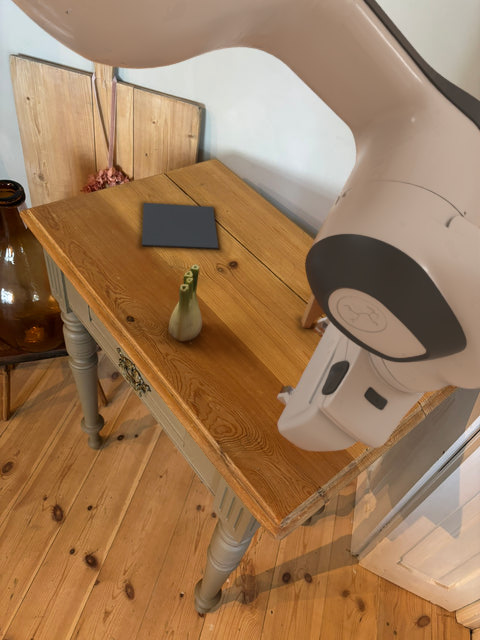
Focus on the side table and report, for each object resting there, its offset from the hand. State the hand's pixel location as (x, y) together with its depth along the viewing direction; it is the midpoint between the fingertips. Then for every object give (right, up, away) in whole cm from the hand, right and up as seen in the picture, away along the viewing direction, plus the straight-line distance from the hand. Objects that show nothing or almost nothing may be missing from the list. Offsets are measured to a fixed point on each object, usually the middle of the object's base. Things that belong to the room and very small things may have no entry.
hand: (302, 361), depth 52 cm
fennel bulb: (-16, +3, +20) cm, 25 cm away
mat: (-19, +23, +37) cm, 48 cm away
